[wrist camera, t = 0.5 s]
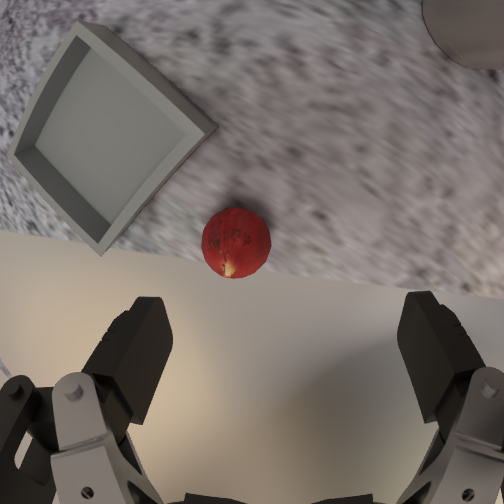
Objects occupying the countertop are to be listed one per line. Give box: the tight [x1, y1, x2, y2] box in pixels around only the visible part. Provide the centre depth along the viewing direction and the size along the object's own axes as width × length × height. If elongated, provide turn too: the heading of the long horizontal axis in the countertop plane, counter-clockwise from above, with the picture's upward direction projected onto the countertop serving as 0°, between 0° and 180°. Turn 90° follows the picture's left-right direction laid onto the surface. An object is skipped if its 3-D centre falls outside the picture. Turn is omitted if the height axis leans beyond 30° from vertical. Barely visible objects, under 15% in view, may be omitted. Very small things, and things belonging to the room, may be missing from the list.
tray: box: [7, 21, 218, 256], centre depth 23 cm, size 16×16×4 cm
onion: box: [202, 208, 271, 279], centre depth 25 cm, size 6×6×8 cm
